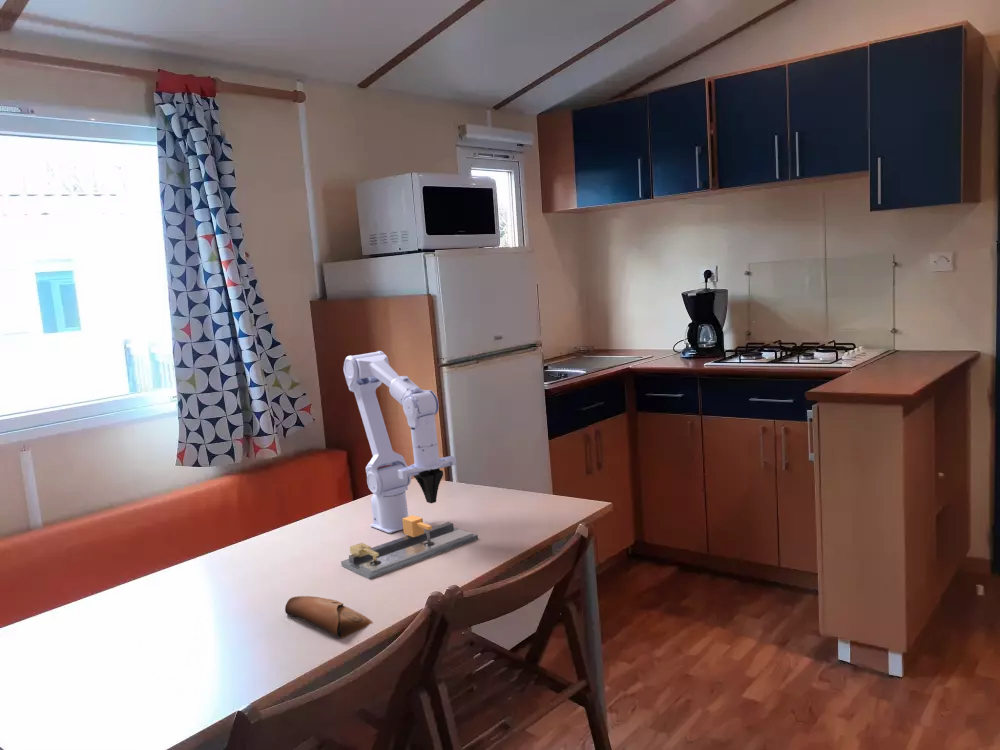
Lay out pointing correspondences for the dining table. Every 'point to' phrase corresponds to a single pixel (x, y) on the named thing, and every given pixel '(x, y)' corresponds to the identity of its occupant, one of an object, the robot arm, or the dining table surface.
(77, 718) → the dining table surface
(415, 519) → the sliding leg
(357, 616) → the sunglasses case
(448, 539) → the board
